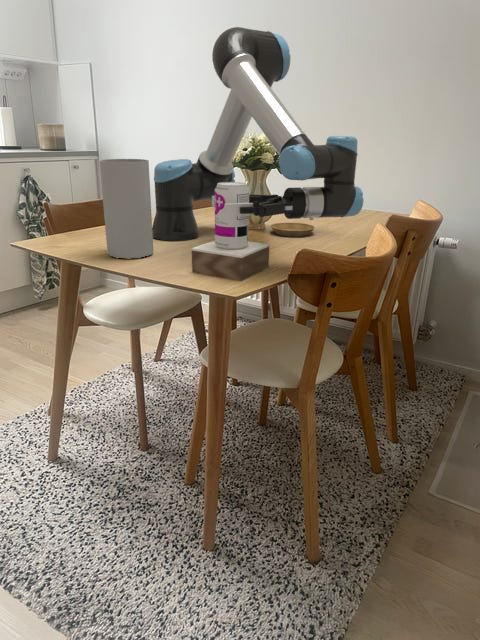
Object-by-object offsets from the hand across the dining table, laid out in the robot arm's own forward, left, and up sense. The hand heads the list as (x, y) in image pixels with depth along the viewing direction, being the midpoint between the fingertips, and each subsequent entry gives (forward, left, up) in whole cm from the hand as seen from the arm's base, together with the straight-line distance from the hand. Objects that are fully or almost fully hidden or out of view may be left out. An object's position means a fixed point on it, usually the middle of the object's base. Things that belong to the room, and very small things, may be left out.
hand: (218, 205), depth 120 cm
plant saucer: (-4, +52, -17) cm, 55 cm away
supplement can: (+2, +2, -10) cm, 11 cm away
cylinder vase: (-30, +1, -16) cm, 34 cm away
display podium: (+2, +2, -16) cm, 16 cm away
